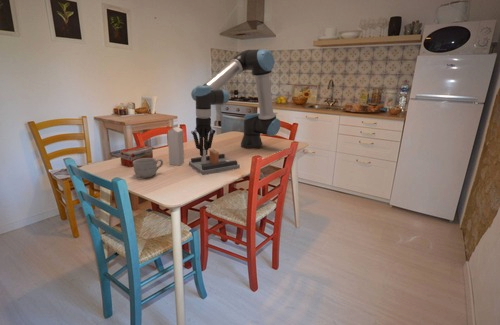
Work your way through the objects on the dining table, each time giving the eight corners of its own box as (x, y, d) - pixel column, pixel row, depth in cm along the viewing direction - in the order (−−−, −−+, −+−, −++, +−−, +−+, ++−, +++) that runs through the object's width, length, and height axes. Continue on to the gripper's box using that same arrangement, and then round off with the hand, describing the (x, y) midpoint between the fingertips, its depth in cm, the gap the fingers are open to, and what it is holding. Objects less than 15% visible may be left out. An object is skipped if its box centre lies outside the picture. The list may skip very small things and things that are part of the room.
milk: (169, 164, 156) (166, 125, 149) (174, 161, 161) (172, 123, 154) (179, 166, 154) (177, 126, 147) (184, 162, 160) (182, 124, 153)
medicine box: (130, 167, 149) (129, 153, 146) (121, 165, 153) (119, 150, 150) (153, 161, 161) (152, 147, 159) (143, 158, 165) (142, 145, 163)
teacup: (134, 180, 132) (133, 164, 129) (133, 173, 141) (132, 157, 139) (165, 177, 137) (164, 161, 135) (162, 170, 147) (161, 155, 144)
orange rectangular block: (213, 161, 158) (213, 149, 156) (218, 164, 153) (218, 152, 151) (209, 161, 156) (209, 149, 154) (214, 164, 152) (214, 152, 149)
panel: (223, 159, 168) (223, 156, 168) (239, 168, 154) (239, 164, 154) (188, 165, 156) (188, 161, 156) (202, 175, 142) (202, 171, 142)
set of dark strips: (223, 157, 166) (223, 153, 166) (237, 164, 154) (237, 161, 153) (191, 161, 156) (191, 158, 155) (203, 170, 143) (203, 166, 142)
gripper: (211, 115, 150) (211, 158, 157) (188, 116, 143) (189, 161, 150) (218, 117, 144) (217, 161, 151) (194, 118, 137) (195, 165, 144)
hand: (203, 161), depth 151 cm, fingers closed
